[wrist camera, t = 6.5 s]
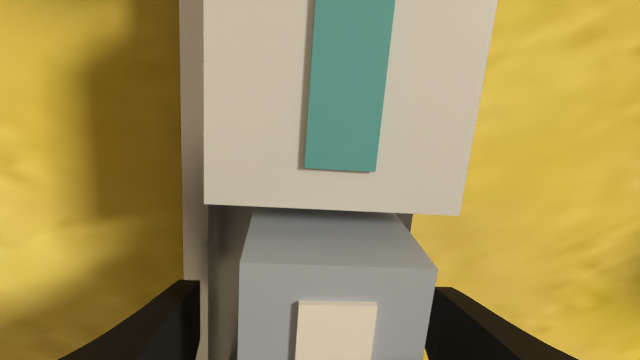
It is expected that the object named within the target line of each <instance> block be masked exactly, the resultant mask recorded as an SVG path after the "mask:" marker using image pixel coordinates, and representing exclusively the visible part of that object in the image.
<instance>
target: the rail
mask: <svg viewBox="0 0 640 360" xmlns="http://www.w3.org/2000/svg"><path fill="white" fill-rule="evenodd" d="M179 35H180V95H181V154H182V214H183V273H184V280H200V343H199V347H198V352H197V356H196V360H237V354H238V311H239V268H240V259H241V256H242V252H243V248H244V244H245V241H246V237H247V233H248V229H249V225H250V222H251V218H252V214H253V210H254V207H255V206H235V205H214V204H204V0H179ZM395 214H396V215H397V216H398V218H399V219H400V220H401V222H402V223H403V224H404V225H405V227H406V228H407V229H408V231H409V232H410V230H411V223H412V216H413V214H409V213H395Z"/></svg>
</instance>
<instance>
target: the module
mask: <svg viewBox="0 0 640 360" xmlns="http://www.w3.org/2000/svg"><path fill="white" fill-rule="evenodd" d="M497 3H498V0H204V204H214V205H235V206H257V207H279V208H300V209H322V210H344V211H365V212H387V213H409V214H430V215H452V216H459V215H460V210H461V204H462V198H463V193H464V187H465V182H466V176H467V170H468V165H469V159H470V154H471V148H472V143H473V137H474V131H475V126H476V120H477V115H478V109H479V103H480V98H481V92H482V87H483V81H484V75H485V70H486V64H487V59H488V53H489V47H490V42H491V36H492V31H493V25H494V20H495V14H496V8H497Z"/></svg>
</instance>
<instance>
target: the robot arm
mask: <svg viewBox="0 0 640 360" xmlns="http://www.w3.org/2000/svg"><path fill="white" fill-rule="evenodd" d="M199 343H200V280H178V281H177V282H175V283H174V284H173V285H171V286H170V287H169V288H167V289H166V290H165V291H164V292H162V293H161V294H160V295H158V296H157V297H156V298H155V299H153V300H152V301H151V302H149V303H148V304H147V305H145V306H144V307H143V308H141V309H140V310H139V311H137V312H136V313H134V314H133V315H132V316H130V317H129V318H127V319H126V320H124V321H123V322H121V323H120V324H118V325H117V326H115V327H114V328H112V329H111V330H109V331H108V332H106V333H105V334H103V335H101V336H100V337H98V338H97V339H95V340H93V341H91V342H90V343H88V344H86V345H84V346H83V347H81V348H79V349H77V350H75V351H74V352H72V353H70V354H68V355H66V356H64V357H62V358H60V359H58V360H196V356H197V352H198V347H199ZM425 349H426V352H427V355H428V359H429V360H578V359H576V358H574V357H572V356H570V355H568V354H566V353H564V352H562V351H560V350H558V349H556V348H554V347H552V346H550V345H548V344H546V343H544V342H542V341H541V340H539V339H537V338H535V337H533V336H532V335H530V334H528V333H526V332H525V331H523V330H521V329H519V328H518V327H516V326H514V325H513V324H511V323H510V322H508V321H506V320H505V319H503V318H501V317H500V316H498V315H497V314H495V313H493V312H492V311H490V310H489V309H487V308H486V307H484V306H482V305H481V304H479V303H478V302H476V301H475V300H473V299H471V298H470V297H468V296H466V295H465V294H463V293H461V292H460V291H458V290H456V289H454V288H452V287H435V289H434V295H433V301H432V307H431V313H430V319H429V325H428V331H427V336H426V342H425Z"/></svg>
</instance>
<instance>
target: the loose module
mask: <svg viewBox="0 0 640 360" xmlns="http://www.w3.org/2000/svg"><path fill="white" fill-rule="evenodd" d="M437 271H438V269H437V267H436V266H435V265H434V263H433V262H432V261H431V259H430V258H429V257H428V256H427V254H426V253H425V252H424V250H423V249H422V248H421V246H420V245H419V244H418V242H417V241H416V240H415V239H414V237H413V236H412V235H411V233H410V232H409V231H408V229H407V228H406V227H405V225H404V224H403V223H402V222H401V220H400V219H399V218H398V216H397V215H396V214H395V213H387V212H365V211H344V210H322V209H300V208H279V207H257V206H255V207H254V210H253V214H252V218H251V222H250V225H249V229H248V233H247V237H246V241H245V244H244V248H243V252H242V256H241V259H240V268H239V311H238V354H237V360H423V354H424V348H425V342H426V336H427V331H428V325H429V319H430V313H431V307H432V301H433V295H434V289H435V283H436V277H437Z"/></svg>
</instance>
